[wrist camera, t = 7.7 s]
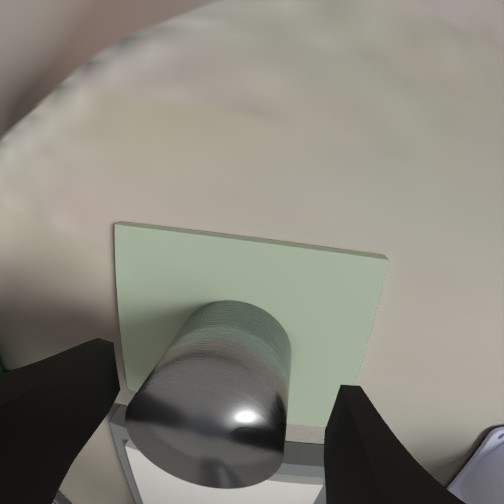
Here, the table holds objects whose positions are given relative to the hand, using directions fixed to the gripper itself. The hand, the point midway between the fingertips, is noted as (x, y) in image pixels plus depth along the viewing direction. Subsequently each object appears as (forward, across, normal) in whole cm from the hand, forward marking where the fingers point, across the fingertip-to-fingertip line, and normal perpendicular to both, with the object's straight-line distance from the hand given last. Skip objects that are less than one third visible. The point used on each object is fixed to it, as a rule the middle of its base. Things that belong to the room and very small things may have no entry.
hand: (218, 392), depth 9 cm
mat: (+4, 0, 0) cm, 4 cm away
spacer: (+3, 0, 0) cm, 3 cm away
